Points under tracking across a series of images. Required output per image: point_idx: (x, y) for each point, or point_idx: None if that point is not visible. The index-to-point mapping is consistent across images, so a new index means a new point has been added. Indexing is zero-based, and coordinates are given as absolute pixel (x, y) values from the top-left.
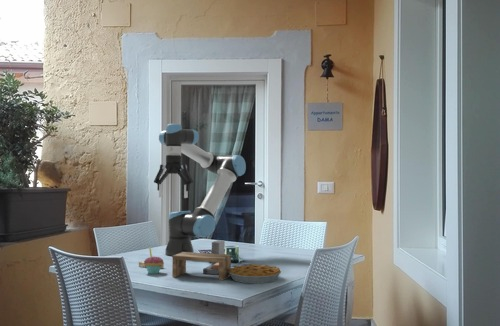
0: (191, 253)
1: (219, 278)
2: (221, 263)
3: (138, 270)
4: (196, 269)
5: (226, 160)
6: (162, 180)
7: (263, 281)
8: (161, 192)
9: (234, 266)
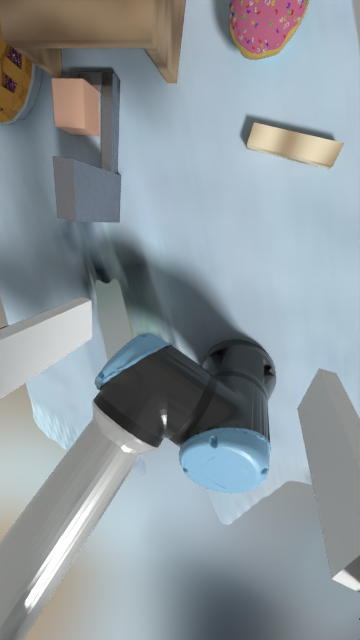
0: (111, 6)
1: None
2: None
3: (332, 63)
4: (151, 146)
5: None
6: None
7: None
8: (319, 426)
9: (25, 60)
